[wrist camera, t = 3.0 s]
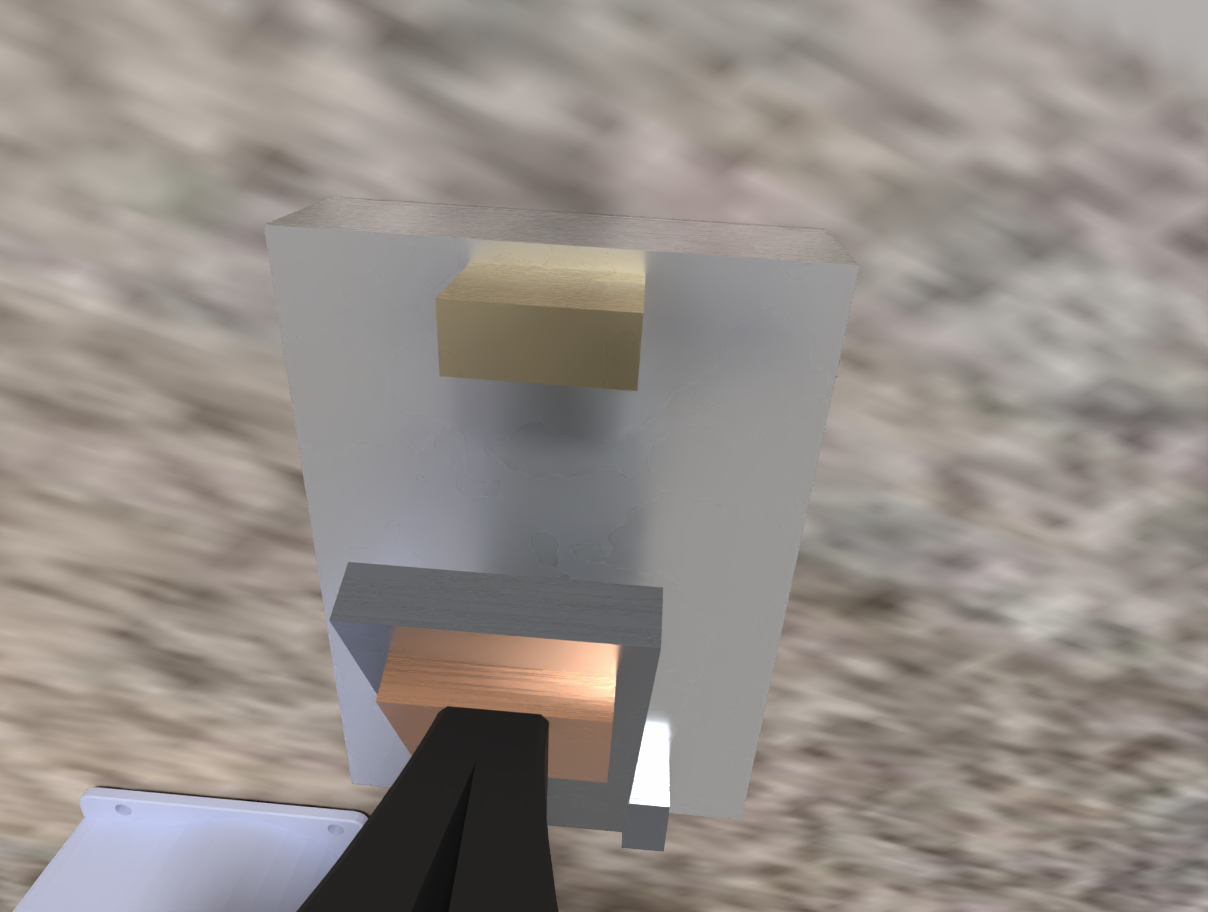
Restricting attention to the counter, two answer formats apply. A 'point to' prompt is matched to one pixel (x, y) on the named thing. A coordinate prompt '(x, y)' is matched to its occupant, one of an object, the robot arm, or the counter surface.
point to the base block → (570, 437)
